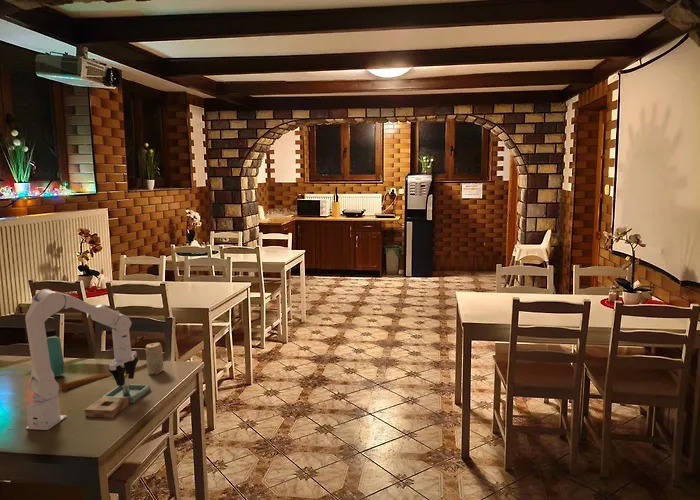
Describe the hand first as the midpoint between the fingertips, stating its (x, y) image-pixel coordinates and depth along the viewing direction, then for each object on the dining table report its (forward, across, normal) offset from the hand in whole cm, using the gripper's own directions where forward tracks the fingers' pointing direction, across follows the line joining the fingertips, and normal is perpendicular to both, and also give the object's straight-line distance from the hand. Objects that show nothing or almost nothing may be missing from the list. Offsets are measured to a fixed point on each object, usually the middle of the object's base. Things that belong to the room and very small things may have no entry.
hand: (125, 381), depth 197 cm
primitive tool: (+6, +12, +24) cm, 27 cm away
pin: (+5, 0, 0) cm, 5 cm away
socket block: (+5, -12, 0) cm, 13 cm away
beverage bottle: (+6, +15, +40) cm, 43 cm away
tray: (+5, 0, 0) cm, 5 cm away
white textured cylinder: (+6, +23, +1) cm, 24 cm away
